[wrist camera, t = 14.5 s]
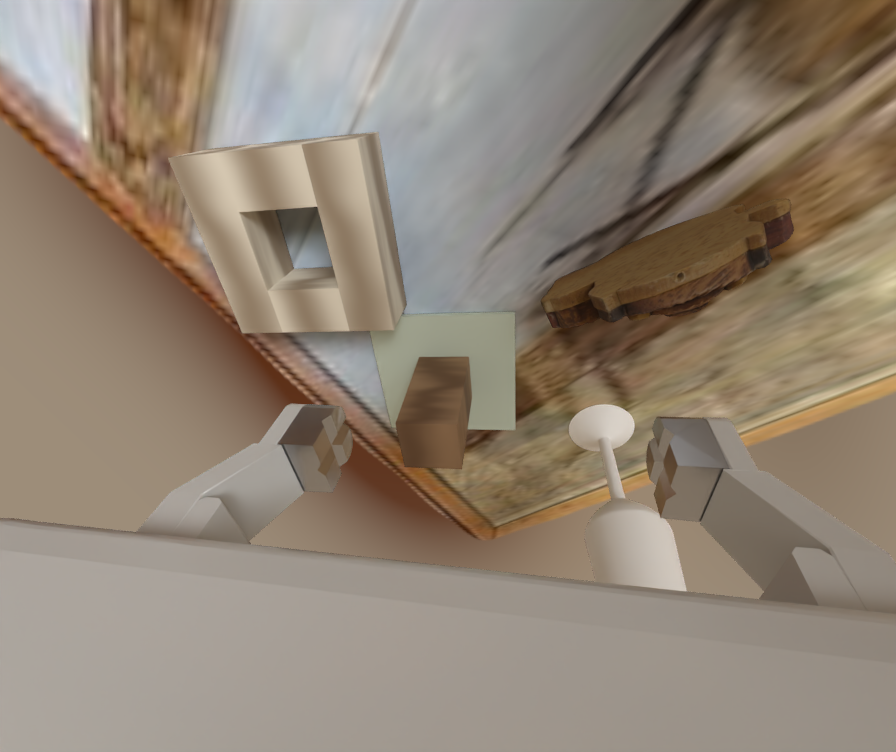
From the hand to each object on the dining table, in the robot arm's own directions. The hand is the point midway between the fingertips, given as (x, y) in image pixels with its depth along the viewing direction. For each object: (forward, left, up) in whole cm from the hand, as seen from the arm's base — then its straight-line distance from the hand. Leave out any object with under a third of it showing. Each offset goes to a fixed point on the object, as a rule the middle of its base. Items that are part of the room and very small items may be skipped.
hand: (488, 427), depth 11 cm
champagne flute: (-10, +24, -27) cm, 37 cm away
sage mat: (+6, +17, -26) cm, 32 cm away
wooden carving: (-11, +5, -27) cm, 29 cm away
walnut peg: (+6, +16, -26) cm, 31 cm away
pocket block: (+16, +2, -26) cm, 31 cm away
